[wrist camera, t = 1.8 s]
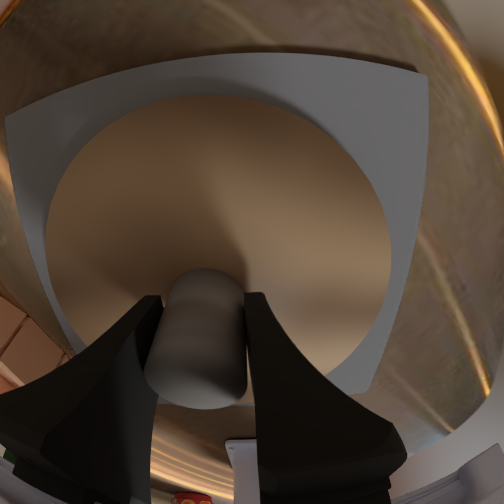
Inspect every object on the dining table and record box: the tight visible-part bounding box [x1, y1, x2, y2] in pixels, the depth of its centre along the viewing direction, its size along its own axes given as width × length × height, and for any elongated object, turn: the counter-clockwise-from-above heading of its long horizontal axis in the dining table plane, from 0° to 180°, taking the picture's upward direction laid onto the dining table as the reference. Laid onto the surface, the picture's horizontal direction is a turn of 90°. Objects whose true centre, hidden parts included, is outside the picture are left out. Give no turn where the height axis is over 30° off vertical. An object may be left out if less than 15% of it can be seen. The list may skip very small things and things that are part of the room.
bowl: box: [0, 296, 69, 394], centre depth 13 cm, size 13×13×4 cm
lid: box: [45, 95, 391, 409], centre depth 9 cm, size 15×15×5 cm
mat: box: [5, 53, 429, 407], centre depth 12 cm, size 18×18×1 cm
